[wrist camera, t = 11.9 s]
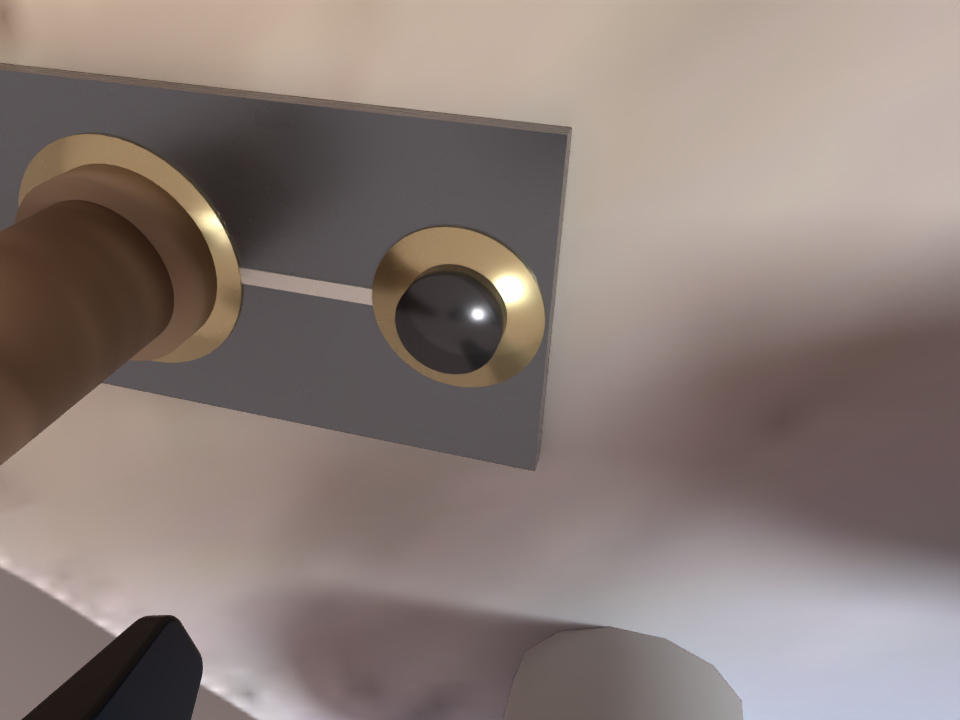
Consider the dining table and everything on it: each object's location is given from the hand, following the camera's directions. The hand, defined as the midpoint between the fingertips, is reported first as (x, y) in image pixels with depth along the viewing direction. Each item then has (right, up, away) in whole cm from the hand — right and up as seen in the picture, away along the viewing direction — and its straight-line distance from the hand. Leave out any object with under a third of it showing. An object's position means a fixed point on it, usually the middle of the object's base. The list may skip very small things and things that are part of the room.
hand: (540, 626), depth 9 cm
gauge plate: (-7, +6, +14) cm, 16 cm away
